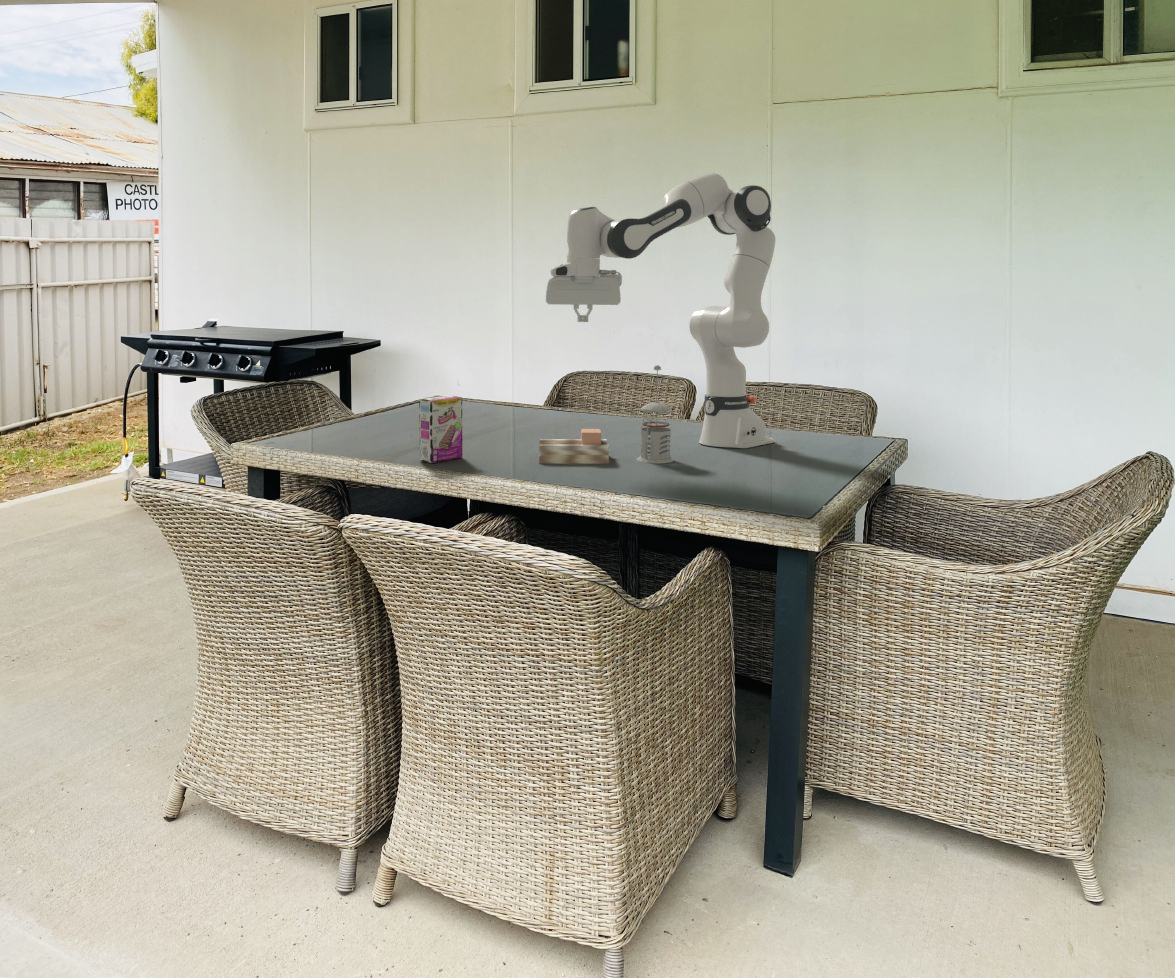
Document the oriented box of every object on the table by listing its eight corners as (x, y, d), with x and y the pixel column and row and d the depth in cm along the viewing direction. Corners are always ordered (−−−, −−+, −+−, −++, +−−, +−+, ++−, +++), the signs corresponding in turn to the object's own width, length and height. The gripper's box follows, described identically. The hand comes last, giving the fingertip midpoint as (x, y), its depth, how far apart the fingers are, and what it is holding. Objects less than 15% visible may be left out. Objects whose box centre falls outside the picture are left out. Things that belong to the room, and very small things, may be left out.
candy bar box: (432, 464, 249) (430, 400, 246) (419, 461, 253) (417, 398, 249) (464, 458, 258) (463, 396, 254) (451, 455, 261) (449, 394, 257)
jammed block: (599, 449, 261) (599, 428, 259) (600, 453, 255) (601, 432, 253) (580, 449, 260) (581, 428, 259) (581, 453, 254) (581, 432, 253)
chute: (605, 454, 264) (606, 438, 263) (608, 463, 252) (609, 446, 251) (539, 454, 263) (539, 438, 262) (539, 463, 252) (539, 446, 251)
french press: (679, 458, 260) (682, 364, 254) (660, 466, 250) (662, 368, 244) (647, 455, 264) (649, 362, 259) (626, 462, 255) (628, 366, 249)
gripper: (621, 270, 265) (620, 321, 268) (545, 269, 264) (545, 321, 267) (622, 270, 259) (622, 322, 262) (545, 269, 258) (545, 322, 261)
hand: (582, 322), depth 264 cm, fingers closed
